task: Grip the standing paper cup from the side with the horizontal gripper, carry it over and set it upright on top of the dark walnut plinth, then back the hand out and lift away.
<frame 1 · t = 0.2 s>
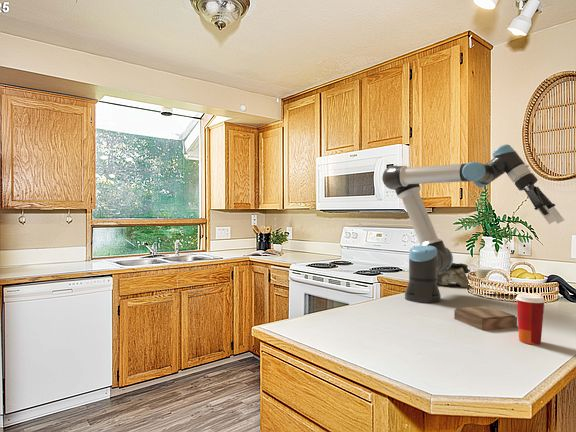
hand: (557, 222, 152), 35 cm above the counter, tool tilted 35°, fingers open, 13 cm apart
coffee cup: (485, 293, 190), on the counter
hollow geode rock: (441, 285, 212), on the counter
paper cup: (529, 342, 120), on the counter
walnut plinth: (484, 322, 140), on the counter
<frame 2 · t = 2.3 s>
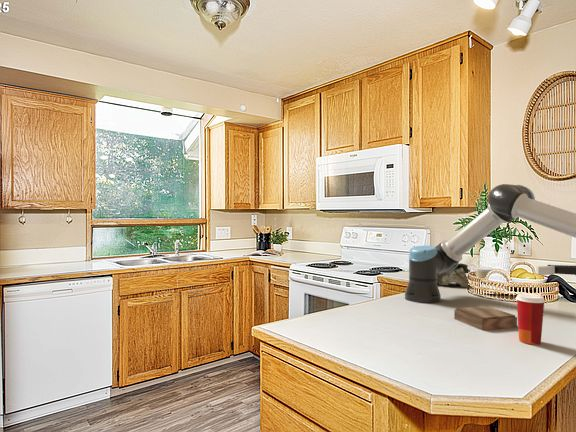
hand: (556, 274, 122), 20 cm above the counter, tool horizontal, fingers open, 13 cm apart
nothing on the counter moved.
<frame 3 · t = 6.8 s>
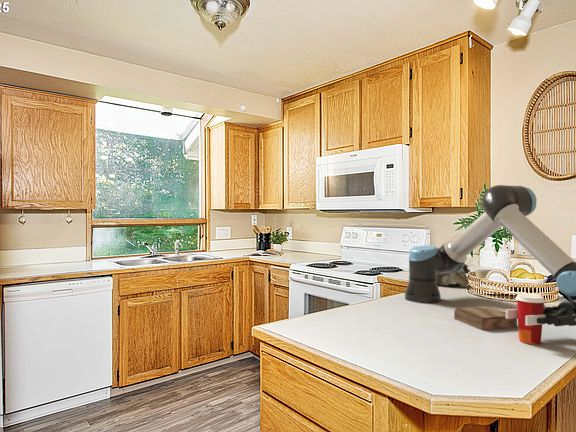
hand: (516, 317, 118), 8 cm above the counter, tool horizontal, fingers closed on paper cup, 7 cm apart
paper cup: (529, 342, 120), on the counter, touching gripper
everything else where it was.
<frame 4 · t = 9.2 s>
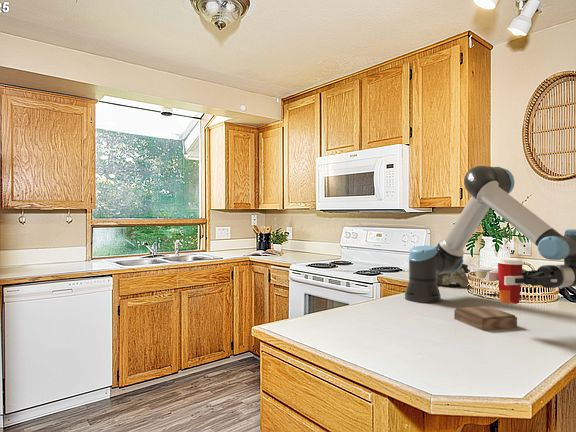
hand: (496, 278, 127), 18 cm above the counter, tool horizontal, fingers closed on paper cup, 7 cm apart
paper cup: (508, 302, 129), point 10 cm above the counter, touching gripper
everything else where it was.
when the fingers open (13 cm above the counter, at t = 11.5 s): paper cup drops 1 cm, resting on walnut plinth.
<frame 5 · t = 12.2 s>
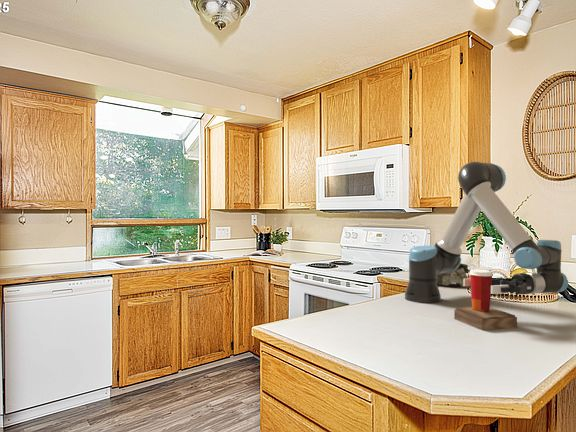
hand: (477, 286, 139), 13 cm above the counter, tool horizontal, fingers open, 13 cm apart
paper cup: (480, 310, 142), point 4 cm above the counter, touching gripper, walnut plinth
everything else where it was.
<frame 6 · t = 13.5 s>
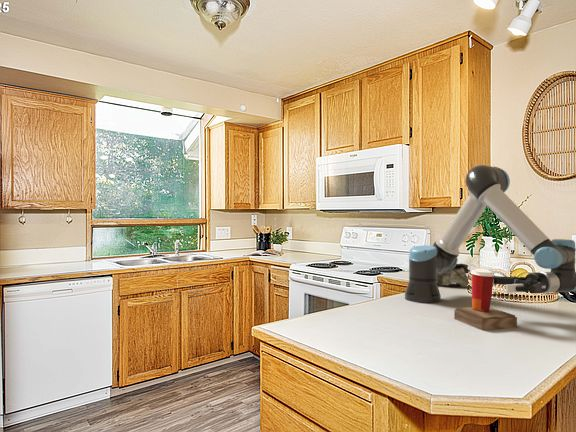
hand: (491, 285, 139), 13 cm above the counter, tool horizontal, fingers open, 13 cm apart
paper cup: (480, 309, 142), point 4 cm above the counter, touching walnut plinth
everything else where it was.
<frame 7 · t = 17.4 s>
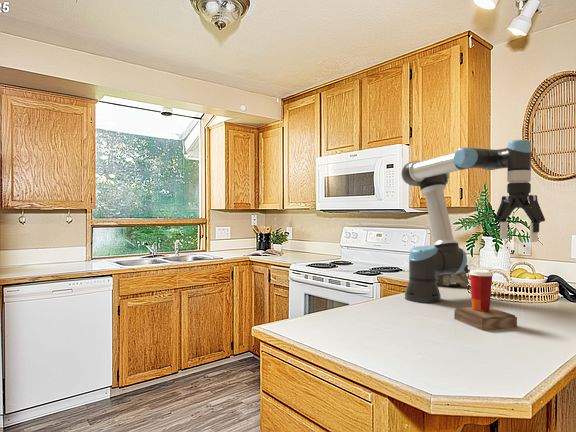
hand: (518, 240, 146), 29 cm above the counter, tool pointing down, fingers open, 13 cm apart
at the end: paper cup inside the target area on the walnut plinth (2.8 cm from its centre), point 3.8 cm above the walnut plinth's base; paper cup tilted 0°; the gripper is holding nothing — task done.
